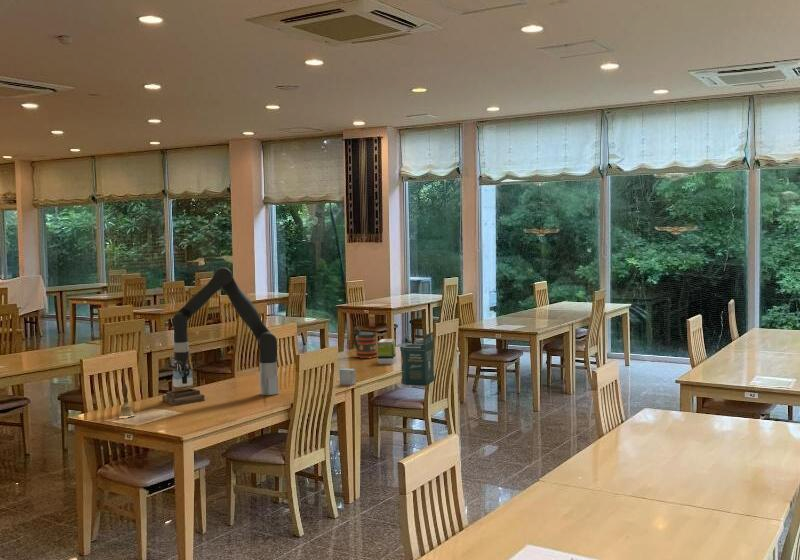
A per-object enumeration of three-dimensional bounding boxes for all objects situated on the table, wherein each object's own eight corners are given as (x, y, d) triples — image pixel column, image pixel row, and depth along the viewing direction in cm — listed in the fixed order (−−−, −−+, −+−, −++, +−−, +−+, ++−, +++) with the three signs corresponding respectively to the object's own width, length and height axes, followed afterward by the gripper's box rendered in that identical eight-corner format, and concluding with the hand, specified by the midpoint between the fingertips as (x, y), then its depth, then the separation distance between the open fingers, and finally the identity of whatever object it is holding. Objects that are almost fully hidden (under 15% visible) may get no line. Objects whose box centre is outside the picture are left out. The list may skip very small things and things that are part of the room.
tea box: (381, 360, 534) (380, 338, 533) (396, 360, 533) (395, 338, 532) (377, 364, 519) (377, 341, 518) (393, 364, 518) (392, 341, 517)
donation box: (425, 385, 441) (424, 335, 439) (398, 384, 446) (397, 334, 445) (434, 380, 456) (433, 331, 454) (408, 379, 461) (406, 331, 460)
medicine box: (355, 383, 452) (355, 368, 451) (352, 385, 448) (352, 370, 447) (343, 383, 455) (342, 368, 454) (339, 384, 450) (339, 369, 450)
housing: (176, 387, 413) (175, 371, 412) (173, 386, 416) (172, 371, 416) (192, 384, 419) (192, 369, 418) (189, 383, 422) (188, 368, 422)
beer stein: (347, 357, 550) (346, 328, 549) (359, 354, 563) (358, 326, 561) (369, 359, 540) (369, 330, 539) (381, 356, 553) (380, 327, 551)
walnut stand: (204, 400, 417) (204, 391, 417) (175, 405, 407) (175, 395, 406) (191, 396, 429) (190, 387, 429) (162, 400, 419) (162, 391, 419)
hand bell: (118, 419, 378) (116, 386, 377) (116, 416, 386) (115, 383, 385) (136, 417, 381) (134, 384, 380) (134, 414, 389) (133, 381, 388)
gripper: (168, 350, 419) (170, 382, 420) (180, 352, 408) (181, 385, 409) (182, 348, 424) (183, 380, 425) (194, 351, 413) (195, 383, 414)
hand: (182, 382), depth 417 cm, fingers closed on housing, 4 cm apart
